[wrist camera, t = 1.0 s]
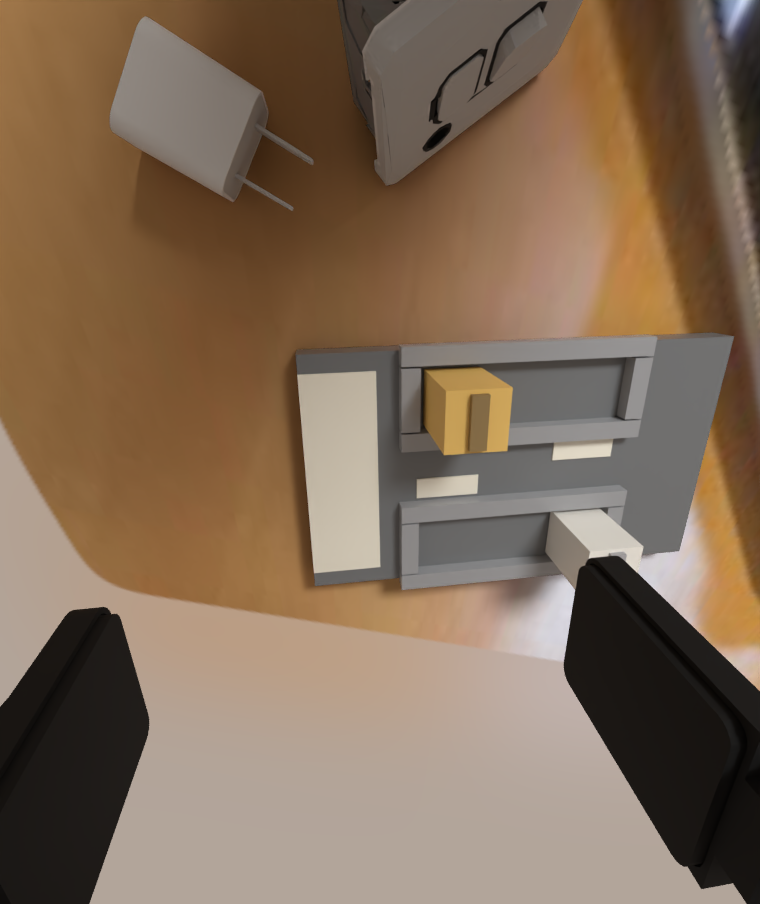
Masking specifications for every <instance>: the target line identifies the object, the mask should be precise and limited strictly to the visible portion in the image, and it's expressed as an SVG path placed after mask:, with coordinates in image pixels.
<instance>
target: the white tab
mask: <svg viewBox="0 0 760 904" xmlns="http://www.w3.org/2000/svg"><path fill="white" fill-rule="evenodd" d="M643 547H644V546H642V545H641V544H640V543H639V542H638V541H637V540H636V539H634V538H633V537H632V536H631V535H630V534H629V533H627V532H626V531H625V530H624V529H623V528H622V527H621V526H619V525H618V524H617V523H616V522H615V521H614V520H612V519H611V518H610V517H609V516H608V515H607V514H606V513H604V512H603V511H602V510H601V509H600V508H589V509H577V510H565V511H553V512H550V518H549V526H548V534H547V541H546V549H545V552H546V554H547V555H548V556H549V557H550V559H551V560H552V561H553V562H554V564H555V565H556V566H557V567H558V569H559V570H560V571H561V572H562V574H563V575H564V576H565V577H566V579H567V580H568V581H569V582H570V584H571V585H572V586H573V588H574V589H576V583H577V577H578V571H579V569H580V567H582V566H585V564H586V561H587V560H588V559H590V558H596V557H606V556H619V557H621V558H622V559H623V560H624V561H625V562H627V563H628V564H629V565H630V566H631V567H632V568H633V569H634V570H635V571H636V572H637V573H638V570H639V565H640V560H641V556H642V551H643Z"/></svg>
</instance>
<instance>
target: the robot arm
mask: <svg viewBox="0 0 760 904" xmlns="http://www.w3.org/2000/svg"><path fill="white" fill-rule="evenodd" d="M564 672H565V676H566V679H567V681H568V683H569V685H570V687H571V688H572V690H573V692H574V693H575V695H576V697H577V698H578V700H579V702H580V703H581V705H582V706H583V708H584V710H585V712H586V713H587V715H588V716H589V718H590V720H591V722H592V723H593V725H594V726H595V728H596V730H597V731H598V733H599V735H600V736H601V738H602V740H603V741H604V743H605V745H606V746H607V748H608V750H609V751H610V753H611V755H612V756H613V758H614V760H615V761H616V763H617V765H618V766H619V768H620V770H621V771H622V773H623V775H624V776H625V778H626V780H627V781H628V783H629V785H630V786H631V788H632V790H633V791H634V793H635V795H636V796H637V798H638V800H639V801H640V803H641V805H642V806H643V808H644V810H645V811H646V813H647V815H648V816H649V818H650V820H651V821H652V823H653V824H654V826H655V828H656V830H657V831H658V833H659V834H660V836H661V838H662V839H663V841H664V843H665V844H666V846H667V848H668V849H669V851H670V853H671V854H672V856H673V857H674V859H675V860H676V861H677V862H678V863H679V864H680V865H682V866H684V867H685V866H688V868H689V869H690V871H691V873H692V875H693V876H694V877H695V879H696V881H697V883H698V884H699V886H700V888H701V889H704V888H709V887H715V886H720V885H726V884H731V883H733V884H734V885H735V887H736V888H737V890H738V891H739V893H740V894H741V896H742V897H743V899H744V900H745V902H746V903H747V904H760V691H759V690H758V689H757V688H756V687H755V686H754V685H753V684H752V683H751V682H750V681H748V680H747V679H746V678H745V677H744V676H743V675H742V674H741V673H740V672H739V671H738V670H737V669H736V668H735V667H734V666H733V665H732V664H731V663H730V662H729V661H728V660H727V659H726V658H725V657H724V656H723V655H722V654H721V653H720V652H719V651H717V650H716V649H715V648H714V647H713V646H712V645H711V644H710V643H709V642H708V641H707V640H706V639H705V638H704V637H703V636H702V635H701V634H700V633H699V632H698V631H697V630H696V629H695V628H694V627H693V626H692V625H691V624H690V623H689V622H688V621H686V620H685V619H684V618H683V617H682V616H681V615H680V614H679V613H678V612H677V611H676V610H675V609H674V608H673V607H672V606H671V605H670V604H669V603H668V602H667V601H666V600H665V599H664V598H663V597H662V596H661V595H660V594H659V593H658V592H656V591H655V590H654V589H653V588H652V587H651V586H650V585H649V584H648V583H647V582H646V581H645V580H644V579H643V578H642V577H641V576H640V575H639V574H638V573H637V572H636V571H635V570H634V569H633V568H632V567H631V566H630V565H629V564H628V563H627V562H625V561H624V560H623V559H622V558H621V557H619V556H606V557H596V558H590V559H588V560H587V561H586V564H585V566H582V567H580V569H579V571H578V577H577V583H576V589H575V596H574V602H573V608H572V615H571V621H570V627H569V634H568V640H567V646H566V652H565V659H564ZM148 730H149V716H148V712H147V709H146V706H145V702H144V698H143V695H142V691H141V688H140V684H139V681H138V677H137V674H136V670H135V667H134V663H133V660H132V657H131V653H130V650H129V646H128V643H127V639H126V636H125V632H124V629H123V626H122V622H121V619H120V617H119V615H117V614H111V613H110V611H109V610H108V608H105V607H99V608H89V609H80V610H73V611H70V612H69V613H68V614H67V615H66V616H65V617H64V619H63V620H62V622H61V623H60V624H59V626H58V628H57V629H56V630H55V632H54V633H53V635H52V636H51V637H50V639H49V640H48V642H47V643H46V645H45V646H44V647H43V649H42V650H41V652H40V653H39V655H38V656H37V658H36V659H35V660H34V662H33V663H32V665H31V666H30V668H29V669H28V670H27V672H26V673H25V675H24V676H23V678H22V679H21V680H20V682H19V683H18V685H17V686H16V688H15V689H14V690H13V692H12V693H11V695H10V696H9V698H8V699H7V700H6V701H5V702H4V703H3V704H2V705H1V707H0V904H89V903H90V900H91V897H92V894H93V892H94V889H95V886H96V883H97V880H98V877H99V874H100V871H101V869H102V866H103V863H104V860H105V857H106V854H107V851H108V848H109V845H110V843H111V840H112V837H113V834H114V831H115V828H116V826H117V823H118V820H119V817H120V814H121V811H122V808H123V805H124V802H125V799H126V797H127V794H128V791H129V788H130V785H131V782H132V779H133V777H134V774H135V771H136V768H137V765H138V762H139V759H140V757H141V754H142V751H143V748H144V745H145V742H146V739H147V736H148Z"/></svg>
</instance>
